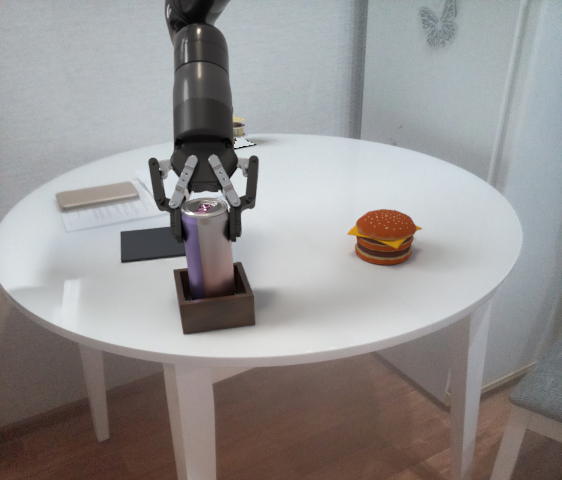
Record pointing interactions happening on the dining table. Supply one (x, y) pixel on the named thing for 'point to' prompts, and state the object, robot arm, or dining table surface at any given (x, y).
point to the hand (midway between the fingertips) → (206, 240)
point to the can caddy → (215, 305)
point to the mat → (149, 244)
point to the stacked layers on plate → (238, 128)
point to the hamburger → (384, 236)
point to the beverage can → (208, 248)
